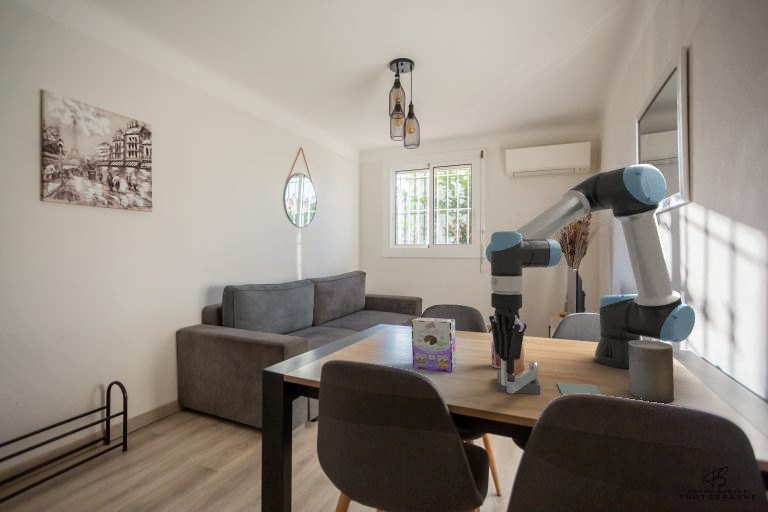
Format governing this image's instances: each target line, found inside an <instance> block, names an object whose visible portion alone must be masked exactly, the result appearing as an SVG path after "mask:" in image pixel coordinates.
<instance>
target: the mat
mask: <svg viewBox="0 0 768 512" xmlns="http://www.w3.org/2000/svg"><path fill="white" fill-rule="evenodd" d="M556 386H557V387H558V390H559V392H560V393H561V395H562V394H574V393H590V394H602V392H601V391H600V389H599V388H598V387H597V386H596V384H583V383H582V384H581V383H566V382H556Z"/></svg>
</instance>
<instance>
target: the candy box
mask: <svg viewBox="0 0 768 512" xmlns="http://www.w3.org/2000/svg"><path fill="white" fill-rule="evenodd" d="M410 323H411V347H412V351H411V352H412V368H413V369H421V370H431V371H437V372H438V371H439V372H440V371H441V372H446V373H447V372H451V373H452V372H453V371H454V370H455V369H457V358H456V357H457V354H456V352H457V350H456V349H457V347H456V319H454V318H434V317H433V318H432V317H420V316H419V317H415V318H413V319H411V321H410Z"/></svg>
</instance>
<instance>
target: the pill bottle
mask: <svg viewBox="0 0 768 512" xmlns="http://www.w3.org/2000/svg"><path fill="white" fill-rule="evenodd" d="M490 344H491V346H490V347H491V348H490V349H491V366H492V367H493V368H495V369H498V370H501V361H500V357H499V354H496V353H495V348H494V341H493V339H492V340H491V343H490Z"/></svg>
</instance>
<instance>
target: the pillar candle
mask: <svg viewBox="0 0 768 512" xmlns="http://www.w3.org/2000/svg"><path fill="white" fill-rule="evenodd" d="M628 344H629V368H628V370H629V371H628V372H629V374H628V375H629V376H628V377H629V393H630V394H631V395H633V396H634V397H635V396H636V397H635V398H637V399H639V400H644V401H648V402H653V401H655V403H669V402H670V403H671V402H673V401H674V400H675V396H674V395H675V394H674V393H675V392H674V390H675V385H674V382H675V380H674V350H673V345H672V344H671V343H667V342H665V341H656V340H652V338H650V339H649V340H648V339H640V340H633V341H629V342H628ZM640 398H642V399H640Z"/></svg>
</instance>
